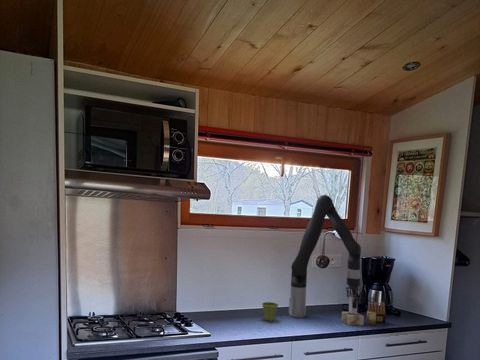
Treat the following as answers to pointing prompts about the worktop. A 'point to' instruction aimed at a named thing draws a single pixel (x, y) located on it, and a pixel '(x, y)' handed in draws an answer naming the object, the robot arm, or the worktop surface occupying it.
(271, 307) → the plant pot
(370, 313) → the round bit
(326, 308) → the worktop surface
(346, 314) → the bit holder
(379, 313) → the ammunition clip
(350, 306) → the square bit
